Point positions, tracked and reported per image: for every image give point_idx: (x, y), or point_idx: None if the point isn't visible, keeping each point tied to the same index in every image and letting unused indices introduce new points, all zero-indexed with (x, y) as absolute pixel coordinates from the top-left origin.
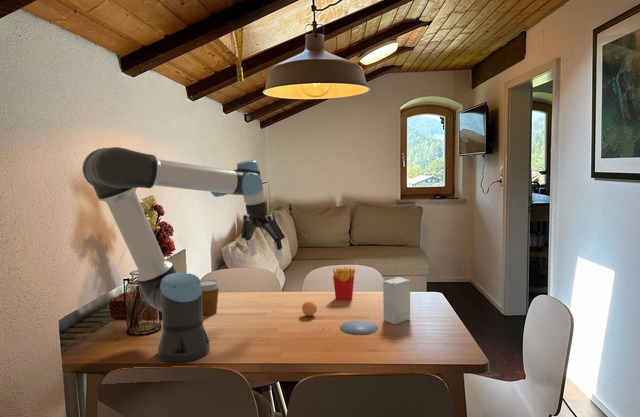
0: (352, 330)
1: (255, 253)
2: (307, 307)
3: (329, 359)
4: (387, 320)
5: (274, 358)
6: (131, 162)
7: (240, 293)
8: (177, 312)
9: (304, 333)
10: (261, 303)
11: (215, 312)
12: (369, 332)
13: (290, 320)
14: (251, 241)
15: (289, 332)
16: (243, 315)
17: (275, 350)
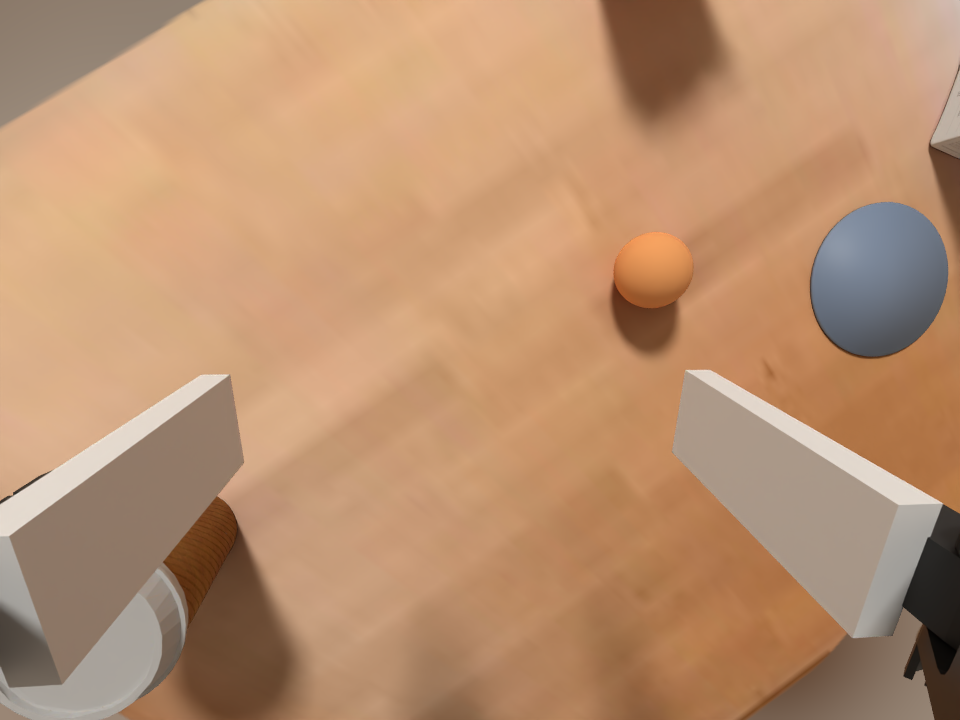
0: (875, 326)
1: (225, 400)
2: (671, 302)
3: None
4: (953, 152)
5: (771, 662)
6: None
7: (16, 172)
8: None
9: None
10: (300, 257)
11: (231, 516)
12: (934, 307)
13: (601, 372)
14: (85, 570)
15: (681, 477)
16: (372, 449)
17: (738, 621)
